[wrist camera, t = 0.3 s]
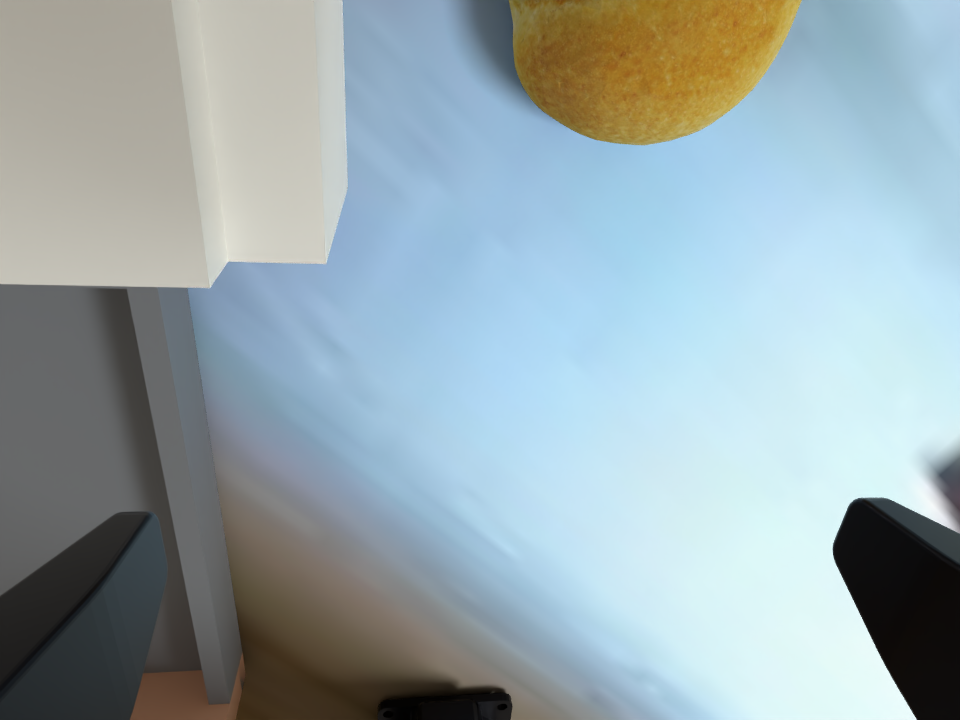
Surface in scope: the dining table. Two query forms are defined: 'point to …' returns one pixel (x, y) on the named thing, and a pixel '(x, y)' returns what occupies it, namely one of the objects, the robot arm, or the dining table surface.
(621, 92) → the bread roll
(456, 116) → the dining table surface
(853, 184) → the dining table surface
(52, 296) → the tray
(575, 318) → the dining table surface
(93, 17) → the overhang shelf
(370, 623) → the dining table surface
